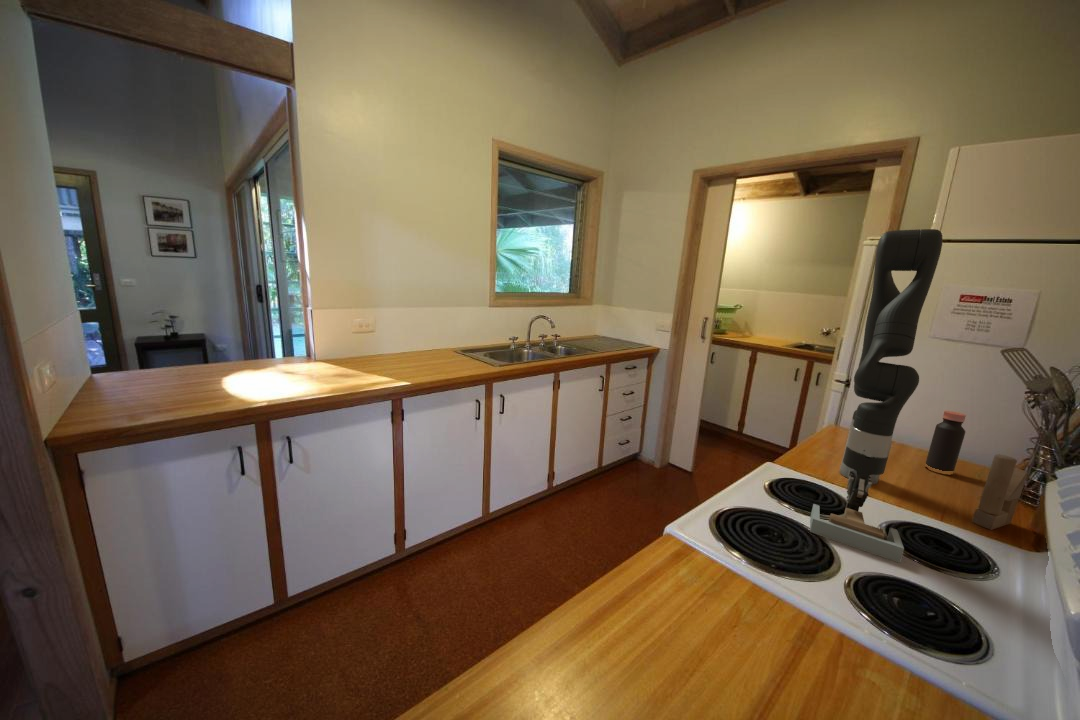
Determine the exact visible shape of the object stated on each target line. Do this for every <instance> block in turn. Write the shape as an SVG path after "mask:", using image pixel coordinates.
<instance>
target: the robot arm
mask: <svg viewBox="0 0 1080 720" xmlns="http://www.w3.org/2000/svg"><path fill="white" fill-rule="evenodd" d="M943 241H944V239H943V233H942V231H940V229H935V228H934V229H933V228H924V229H918V228H917V229H899V230H898V229H897V230H896V229H895V230H888V231H886V232H884V233H883V234H882V235H881V236H880V238H879V240H878V243H877V246H876V247H877V248H876V251H875V252H876V253H875V261H874V271H873V282H872V283H873V284H872V290H871V291H872V292H871V297H870V301H869V306H868V312H867V315H866V320H865V326H864V335H863V341H862V342H863V344H862V350H861V355H860V359H859V364H858V368H857V369H856V371H855V373H854V377H853V382H854V384H853V391H854V395H856V396H857V397H859V398H862V399H867V400H870V401H871V400H872V401H877V402H862V403H861V402H860V403H859V404H858V405H857V408H856V409H855V410H854V412H853V413H852V419H851V423H850V427H849V431H848V435H847V440H846V443H845V448H844V451H843V456H842V460H841V463H840V468H839V473H840V475H842V476H843V477H845V478H847V480H848V481H847V485H846V489H847V490H846V494H847V496H846V505H845V509H846V508H849V509H852V510H856V511H859V510H860V508H863V506H864V504H865V502H866V500H867V498H868V497H869V489H870V488H871V487H872V485H877V484H878V483H879V480H880V476H881V475H883V474H885V470H886V468H887V467H886V466H887V463H888V459H889V455H890V451H891V449H892V444H893V441H892V440H893V434H894V431H895V427H896V423H897V420H898V417H899V415H900V413H901V411H902V410H903V408H904V406H905V404H907V402H908V400H910V398H911V397H912V395H913V394H914V393H915V391H916V389H917V387H918V385H919V383H920V375H919V373H918V371H917V370H916V368H914V367H912V366H909V365H905V364H896V363H889V362H882V361H881V360H882V359H884V358H892V357H893V358H894V357H895V358H897V357H905V356H908V355H909V354H911V353H912V352H913V349H914V345H915V341H916V335H917V331H918V330H917V329H918V324H919V319H920V316H921V312H922V309H923V307H924V304H925V301H926V299H927V296H928V293H929V290H930V288H931V285H932V282H933V279H934V276H935V273H936V269H937V267H938V263H939V260H940V257H941V254H942V253H941V251H942V247H943ZM892 271H894V272H915V275H914V277H913V279H912V280H911V282H910V283H909V284H908V285H907V286H906V287H905V289H903V291H901V292H900V290H899V289H898V287H897V285H896V283H895V281H894V278H893V272H892ZM845 509H844V510H845ZM844 513H845V511H844ZM844 513H843V514H844Z"/></svg>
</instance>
